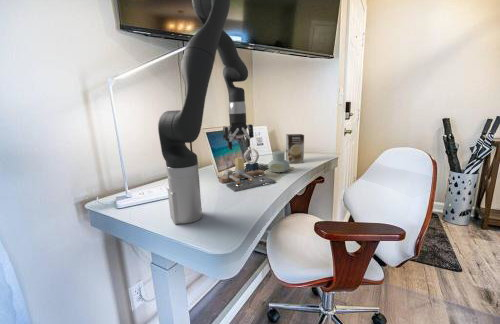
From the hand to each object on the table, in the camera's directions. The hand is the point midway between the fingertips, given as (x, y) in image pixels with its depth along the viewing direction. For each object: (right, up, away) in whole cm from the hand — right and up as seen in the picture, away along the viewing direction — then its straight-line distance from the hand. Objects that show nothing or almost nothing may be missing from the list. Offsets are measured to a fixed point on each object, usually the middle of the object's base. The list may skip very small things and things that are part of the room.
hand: (239, 148), depth 118 cm
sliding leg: (+2, -13, -1) cm, 14 cm away
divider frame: (+3, -15, 0) cm, 15 cm away
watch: (+6, -10, +20) cm, 23 cm away
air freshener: (+20, -11, +14) cm, 26 cm away
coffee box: (+31, -7, +32) cm, 45 cm away
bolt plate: (+5, -16, -6) cm, 18 cm away
